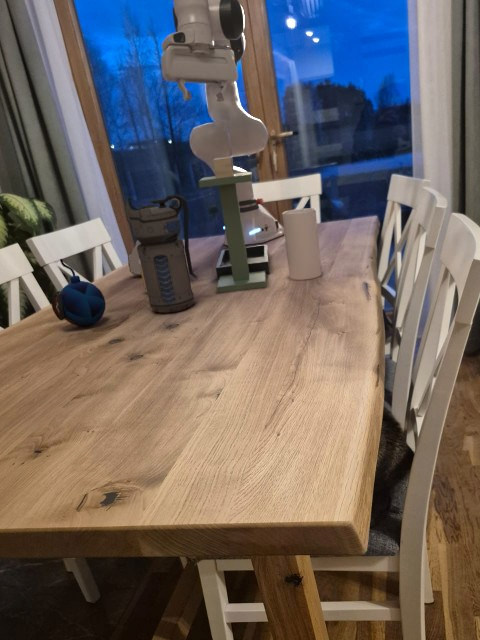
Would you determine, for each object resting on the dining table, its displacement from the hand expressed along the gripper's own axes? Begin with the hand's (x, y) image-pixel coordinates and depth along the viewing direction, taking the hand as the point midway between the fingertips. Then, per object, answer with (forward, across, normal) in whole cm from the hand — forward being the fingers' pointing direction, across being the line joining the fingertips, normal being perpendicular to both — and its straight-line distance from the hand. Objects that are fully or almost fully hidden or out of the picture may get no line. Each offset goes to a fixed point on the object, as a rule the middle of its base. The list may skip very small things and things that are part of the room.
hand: (204, 100), depth 154 cm
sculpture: (+42, +14, -25) cm, 51 cm away
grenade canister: (+52, +24, +23) cm, 62 cm away
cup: (+48, -10, +24) cm, 55 cm away
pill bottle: (+48, +22, +3) cm, 53 cm away
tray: (+44, -6, -1) cm, 44 cm away
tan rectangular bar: (+22, +4, +17) cm, 28 cm away
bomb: (+53, +44, +18) cm, 71 cm away
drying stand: (+48, +4, +17) cm, 52 cm away
